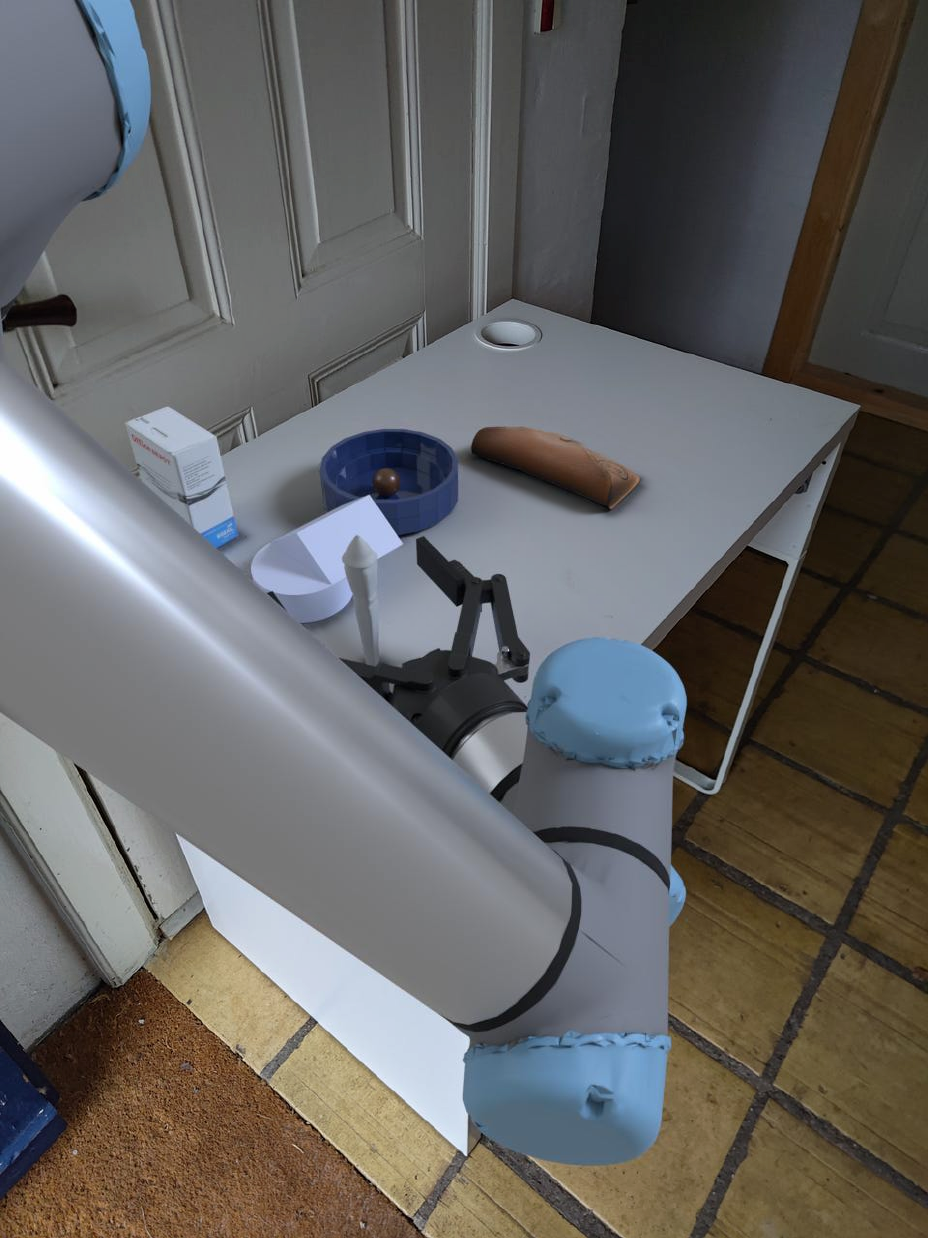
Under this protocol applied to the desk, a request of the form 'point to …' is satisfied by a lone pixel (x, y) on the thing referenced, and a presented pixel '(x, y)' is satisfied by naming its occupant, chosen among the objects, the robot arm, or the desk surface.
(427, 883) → the robot arm
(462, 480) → the desk surface
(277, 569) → the wedge on round base
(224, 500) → the ink box
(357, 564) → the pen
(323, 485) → the bowl
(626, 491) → the sunglasses case
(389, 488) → the ball
